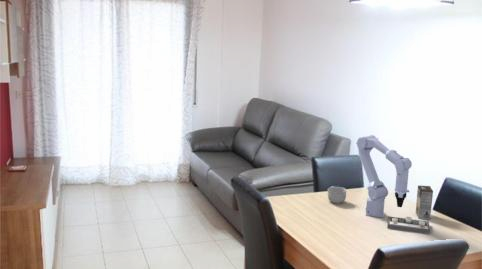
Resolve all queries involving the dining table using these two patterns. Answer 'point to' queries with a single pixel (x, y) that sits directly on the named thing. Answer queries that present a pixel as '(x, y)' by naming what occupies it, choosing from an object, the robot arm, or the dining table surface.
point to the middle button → (408, 220)
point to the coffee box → (424, 202)
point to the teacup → (336, 194)
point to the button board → (408, 225)
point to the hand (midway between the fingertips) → (399, 206)
